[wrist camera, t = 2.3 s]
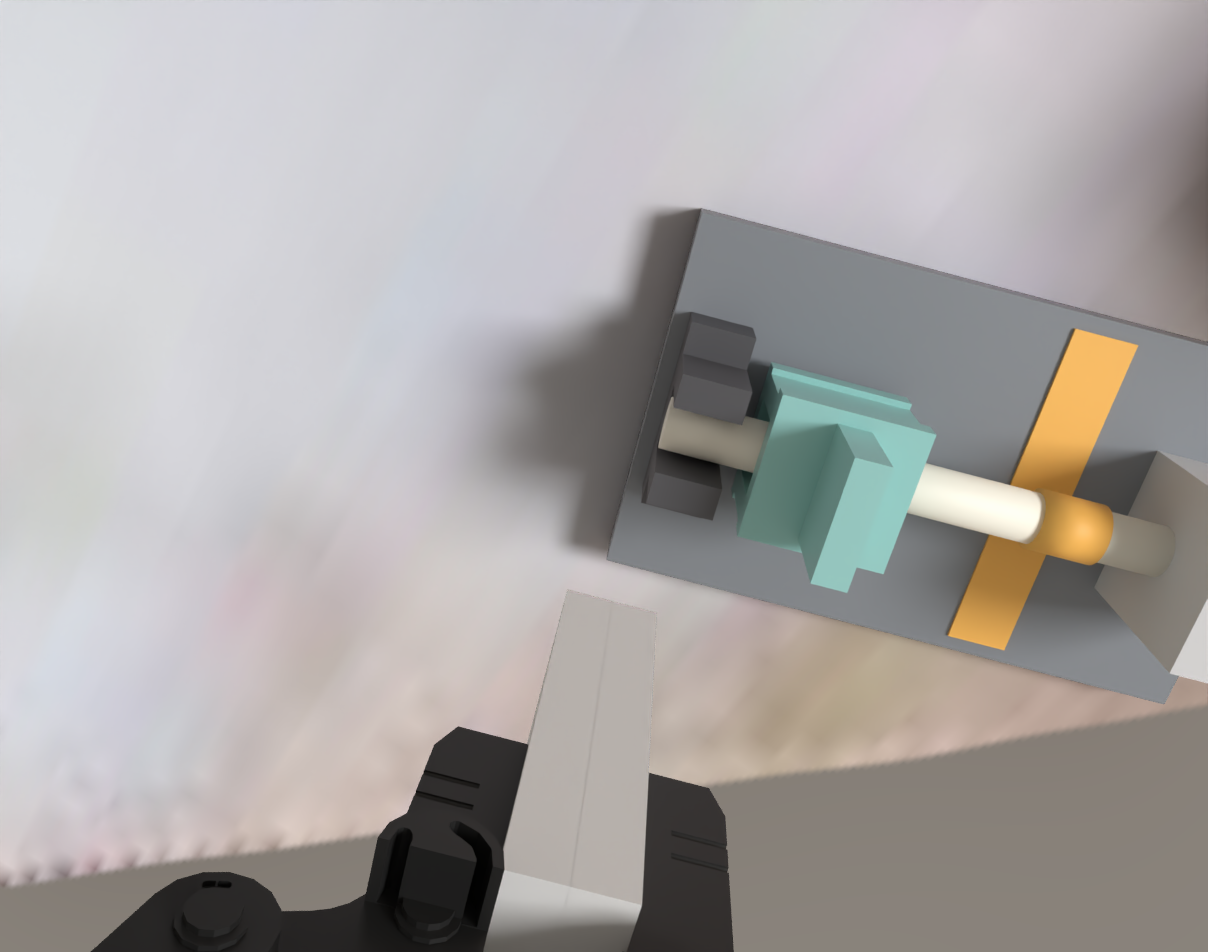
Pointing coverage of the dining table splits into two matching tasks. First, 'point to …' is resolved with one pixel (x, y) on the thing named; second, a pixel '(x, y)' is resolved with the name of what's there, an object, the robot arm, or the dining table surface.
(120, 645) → the dining table surface
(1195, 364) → the cable board
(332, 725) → the dining table surface
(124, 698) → the dining table surface
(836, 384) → the sleeve
